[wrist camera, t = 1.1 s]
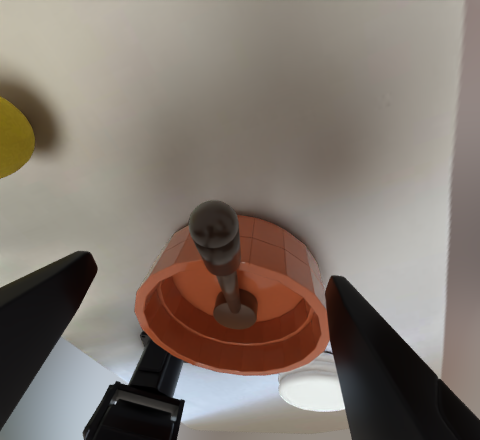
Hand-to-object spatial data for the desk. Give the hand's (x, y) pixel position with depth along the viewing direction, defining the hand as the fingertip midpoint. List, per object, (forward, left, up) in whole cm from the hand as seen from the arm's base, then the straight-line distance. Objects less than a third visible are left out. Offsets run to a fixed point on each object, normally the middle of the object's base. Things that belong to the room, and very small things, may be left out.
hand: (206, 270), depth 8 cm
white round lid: (-28, -11, -10) cm, 32 cm away
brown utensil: (-7, 0, -9) cm, 12 cm away
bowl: (-11, 0, -10) cm, 15 cm away
